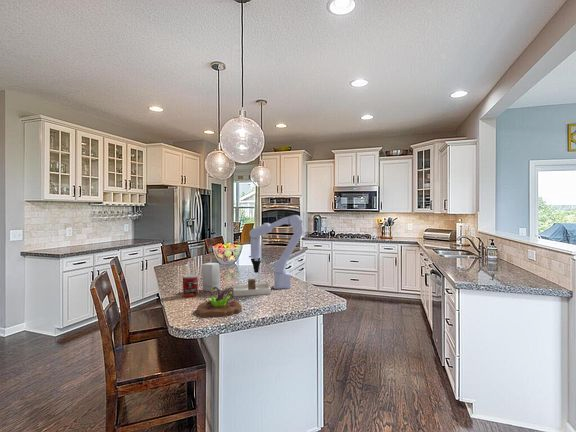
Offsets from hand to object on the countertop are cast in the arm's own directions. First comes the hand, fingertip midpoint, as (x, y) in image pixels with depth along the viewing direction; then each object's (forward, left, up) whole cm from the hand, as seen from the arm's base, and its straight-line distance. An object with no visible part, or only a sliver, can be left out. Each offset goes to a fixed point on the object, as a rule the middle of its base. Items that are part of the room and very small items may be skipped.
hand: (256, 271), depth 186 cm
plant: (+19, +41, -10) cm, 47 cm away
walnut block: (+3, +11, -9) cm, 14 cm away
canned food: (+36, +12, -10) cm, 39 cm away
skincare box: (+26, +2, -10) cm, 28 cm away
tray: (+3, +11, -9) cm, 15 cm away
